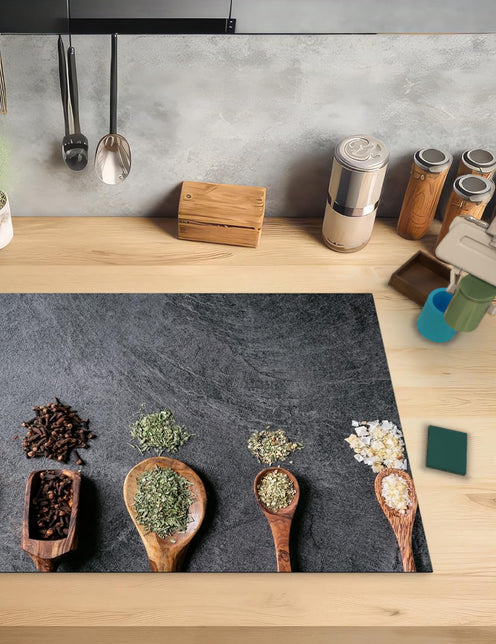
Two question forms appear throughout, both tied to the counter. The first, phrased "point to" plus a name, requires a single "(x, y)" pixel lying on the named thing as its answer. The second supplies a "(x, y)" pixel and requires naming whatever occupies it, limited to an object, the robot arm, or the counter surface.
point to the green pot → (469, 303)
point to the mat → (447, 450)
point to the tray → (421, 277)
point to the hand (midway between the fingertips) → (469, 303)
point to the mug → (436, 317)
